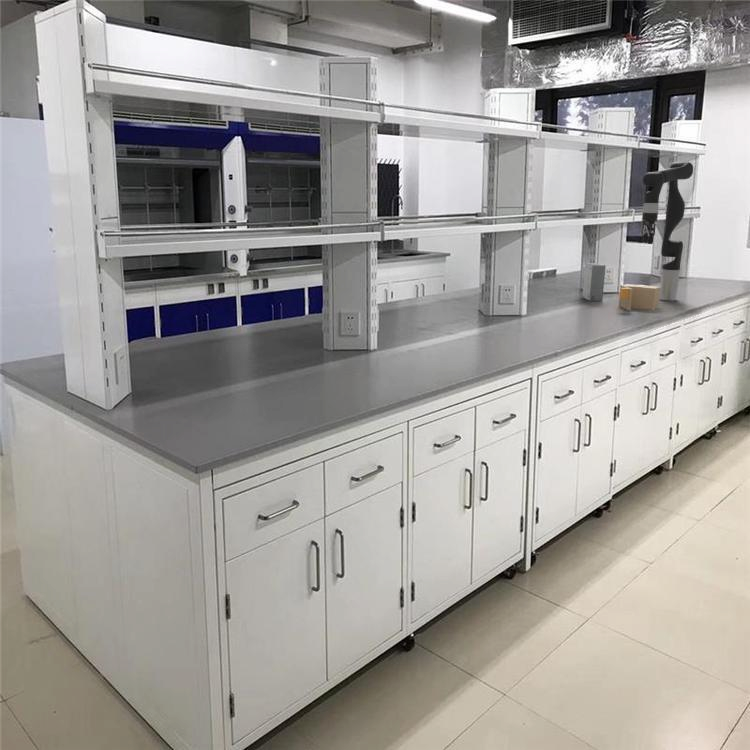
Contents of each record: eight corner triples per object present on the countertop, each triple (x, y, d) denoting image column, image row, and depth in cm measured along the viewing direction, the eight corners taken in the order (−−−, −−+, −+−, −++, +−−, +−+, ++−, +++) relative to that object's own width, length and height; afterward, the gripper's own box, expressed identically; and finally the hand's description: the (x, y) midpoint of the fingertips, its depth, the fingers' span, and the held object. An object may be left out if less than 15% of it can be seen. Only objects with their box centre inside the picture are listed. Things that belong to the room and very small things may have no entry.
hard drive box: (602, 301, 400) (606, 265, 395) (589, 301, 400) (592, 265, 395) (595, 297, 415) (598, 262, 410) (581, 297, 415) (584, 262, 410)
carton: (625, 304, 391) (627, 283, 388) (658, 307, 380) (660, 286, 377) (619, 306, 384) (620, 285, 381) (653, 309, 373) (655, 288, 370)
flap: (620, 305, 382) (622, 285, 380) (630, 310, 367) (632, 289, 364) (611, 305, 382) (612, 284, 380) (620, 310, 367) (622, 289, 364)
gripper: (662, 212, 368) (658, 244, 372) (653, 211, 382) (650, 242, 386) (647, 212, 368) (644, 244, 372) (639, 211, 382) (636, 242, 386)
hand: (647, 243), depth 379 cm, fingers open, 8 cm apart
